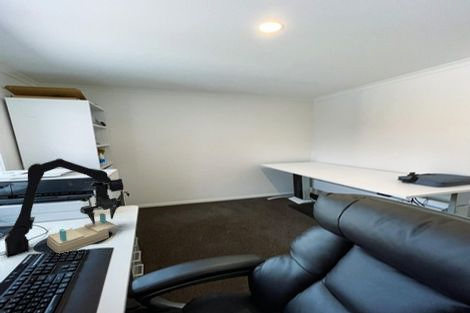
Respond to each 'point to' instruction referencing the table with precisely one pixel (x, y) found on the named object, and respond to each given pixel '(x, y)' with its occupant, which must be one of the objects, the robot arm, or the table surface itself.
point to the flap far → (101, 224)
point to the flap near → (65, 236)
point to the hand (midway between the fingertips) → (103, 221)
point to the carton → (78, 240)
